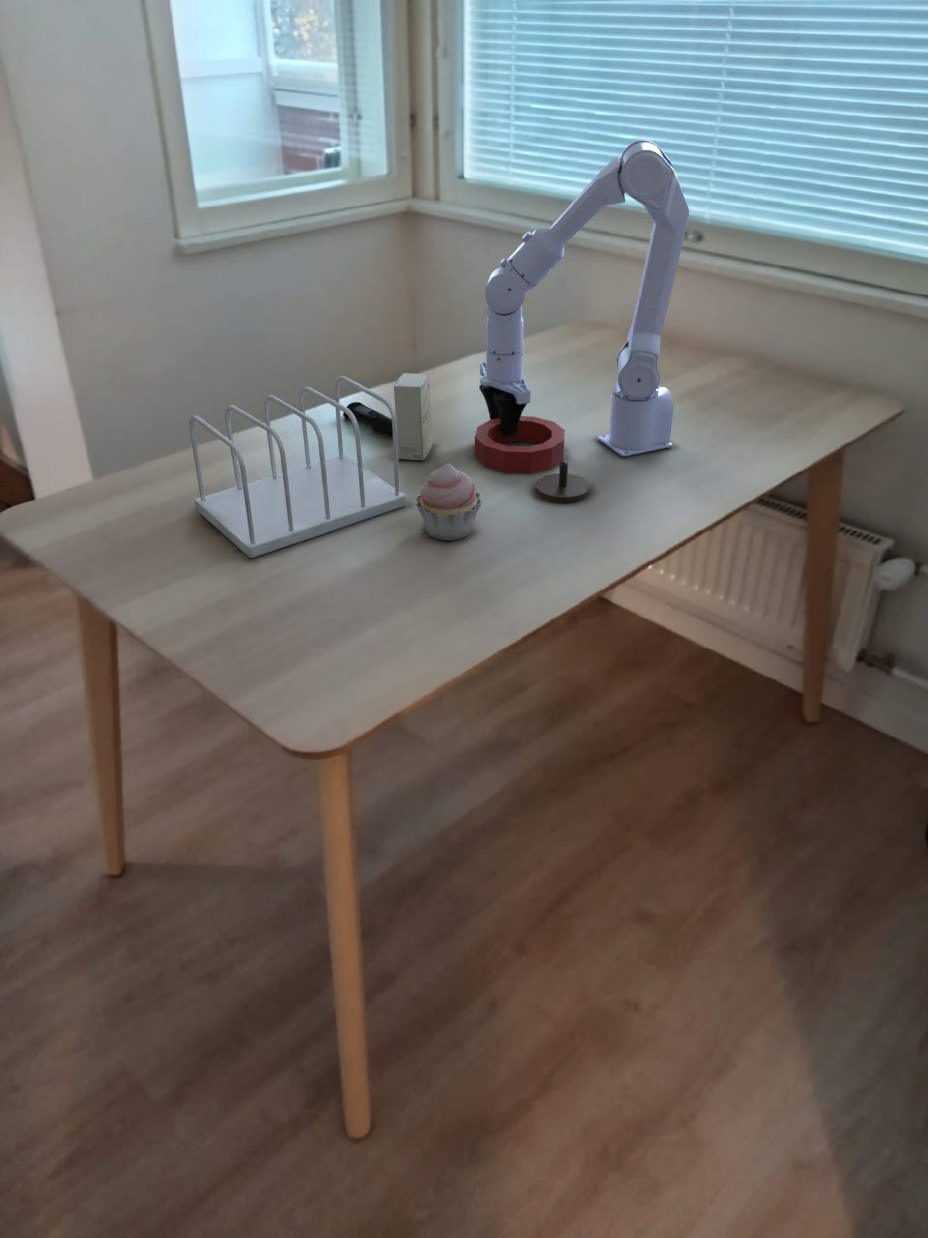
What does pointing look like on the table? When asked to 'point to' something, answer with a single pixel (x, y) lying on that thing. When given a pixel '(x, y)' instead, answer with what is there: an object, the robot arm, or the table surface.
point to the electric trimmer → (371, 418)
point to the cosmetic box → (413, 416)
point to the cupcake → (448, 504)
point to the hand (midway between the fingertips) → (503, 430)
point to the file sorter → (297, 485)
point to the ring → (515, 456)
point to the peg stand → (562, 486)
